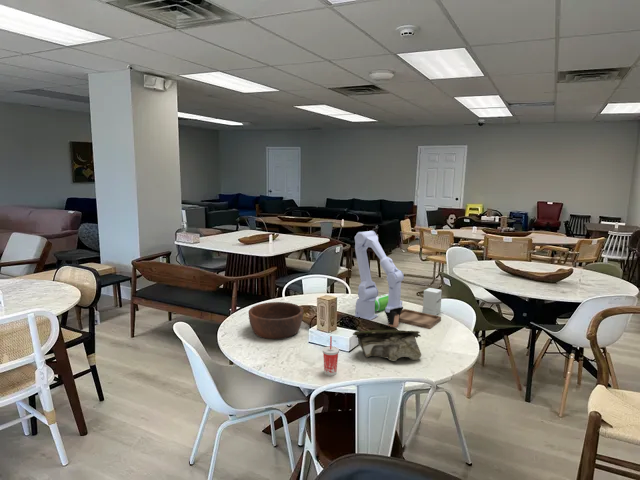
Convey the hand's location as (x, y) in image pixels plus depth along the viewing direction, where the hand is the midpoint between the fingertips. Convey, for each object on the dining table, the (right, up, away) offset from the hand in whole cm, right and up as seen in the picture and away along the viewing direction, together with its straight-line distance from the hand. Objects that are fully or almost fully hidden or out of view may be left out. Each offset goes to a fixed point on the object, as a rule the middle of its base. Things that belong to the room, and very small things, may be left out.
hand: (393, 322), depth 202 cm
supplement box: (+24, +1, +19) cm, 30 cm away
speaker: (-2, +2, +25) cm, 25 cm away
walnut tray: (+13, 0, +8) cm, 15 cm away
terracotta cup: (0, -1, 0) cm, 2 cm away
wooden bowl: (-56, -3, -9) cm, 57 cm away
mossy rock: (-9, -7, -33) cm, 35 cm away
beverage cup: (-32, -9, -48) cm, 58 cm away
